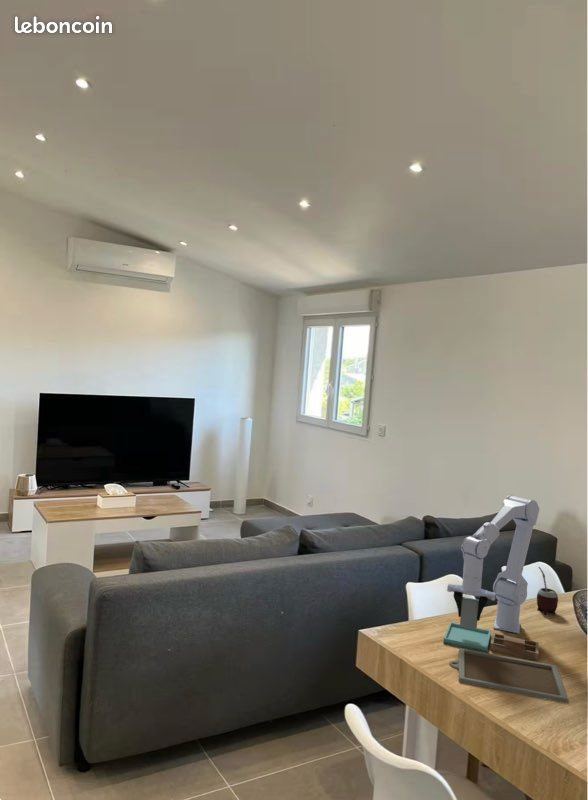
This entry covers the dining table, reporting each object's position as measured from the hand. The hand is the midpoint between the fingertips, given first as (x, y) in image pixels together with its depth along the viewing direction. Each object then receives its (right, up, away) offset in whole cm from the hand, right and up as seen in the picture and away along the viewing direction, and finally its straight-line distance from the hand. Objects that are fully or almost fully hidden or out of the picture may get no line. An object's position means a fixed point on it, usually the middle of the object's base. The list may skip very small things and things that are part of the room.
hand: (469, 617), depth 188 cm
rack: (+12, -8, -6) cm, 16 cm away
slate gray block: (0, -3, 0) cm, 3 cm away
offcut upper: (+12, -6, -7) cm, 15 cm away
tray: (0, -7, 0) cm, 7 cm away
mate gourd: (+36, -8, +28) cm, 47 cm away
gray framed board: (+4, -9, -21) cm, 23 cm away
